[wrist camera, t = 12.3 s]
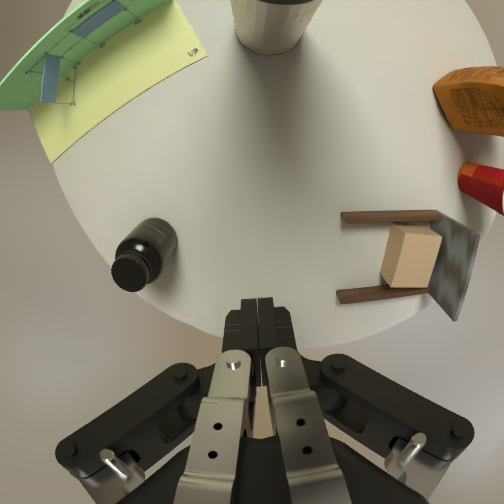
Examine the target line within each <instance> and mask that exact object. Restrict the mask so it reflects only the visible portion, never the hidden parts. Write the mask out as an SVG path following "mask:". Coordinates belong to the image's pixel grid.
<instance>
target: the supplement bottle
mask: <svg viewBox="0 0 504 504" xmlns="http://www.w3.org/2000/svg"><path fill="white" fill-rule="evenodd" d="M175 247H176V234H175V232H174V230H173V228H172V227H171V225H170V224H168V223H167V222H166V221H164V220H162V219H159V218H149V219H146V220H144V221H142V222H141V223H140V224H139V225H138V226H137V227H136V228H135V229H134V230H133V231H132V232H131V233H130V234H129V235H128V236H127V237H126V238H125V239H124V240H123V241H122V242H121V243H120V244H119V246H118V247H117V250H116V254H115V261H114V263H113V265H112V269H111V271H112V272H111V273H112V277H113V280H114V281H115V283H116V284H117V285H118V286H119V287H120V288H122V289H123V290H126V291H129V292H137V291H140V290H141V289H143V287H145V285H146V284H150V283H152V282H154V281H155V280H157V279H158V278H159V276H160V275H161V273H162V271H163V270H164V268H165V266H166V264H167V262H168V261H169V259H170V257H171V255H172V253H173V251H174V250H175Z"/></svg>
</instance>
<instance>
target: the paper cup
mask: <svg viewBox="0 0 504 504" xmlns="http://www.w3.org/2000/svg"><path fill="white" fill-rule="evenodd" d="M458 185H459V188H460V189H461V191H462V192H464V193H465V194H467V195H469V196H470V197H472V198H474V199H476V200H478V201H479V202H481V203H483V204H485V205H486V206H488V207H490V208H492V209H493V210H495V211H497V212H498V213H500V214H502V215H503V216H504V170H503V169H498V168H494V167H489V166H484V165H479V164H473V163H466V164H464V165H463V166H462V167H461V168H460V170H459V173H458Z"/></svg>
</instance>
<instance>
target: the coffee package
mask: <svg viewBox="0 0 504 504" xmlns="http://www.w3.org/2000/svg"><path fill="white" fill-rule="evenodd" d="M433 88H434V92H435V93H436V95H437V98H438V100H439V102H440V105H441V107H442V109H443V111H444V113H445V115H446V118H447V120H448V122H449V123H450V124H451V126H452V128H453V129H456V130H464V131H468V132H472V133H476V134H483V133H485V134H488V135H497V136H502V137H504V67H497V66H491V67H472V68H464V69H459V70H455V71H452V72H450V73H448V74H447V75H445V76H444V77H443V78H441V79H440V80H439V81H437V82H436V83H435V84H434V86H433Z"/></svg>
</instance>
